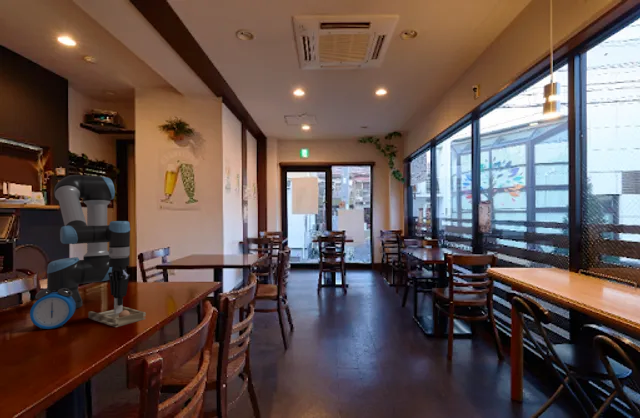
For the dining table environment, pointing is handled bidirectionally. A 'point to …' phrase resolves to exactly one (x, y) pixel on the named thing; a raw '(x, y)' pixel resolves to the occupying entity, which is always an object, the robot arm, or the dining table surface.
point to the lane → (117, 317)
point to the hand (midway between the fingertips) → (118, 312)
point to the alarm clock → (52, 308)
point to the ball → (124, 313)
